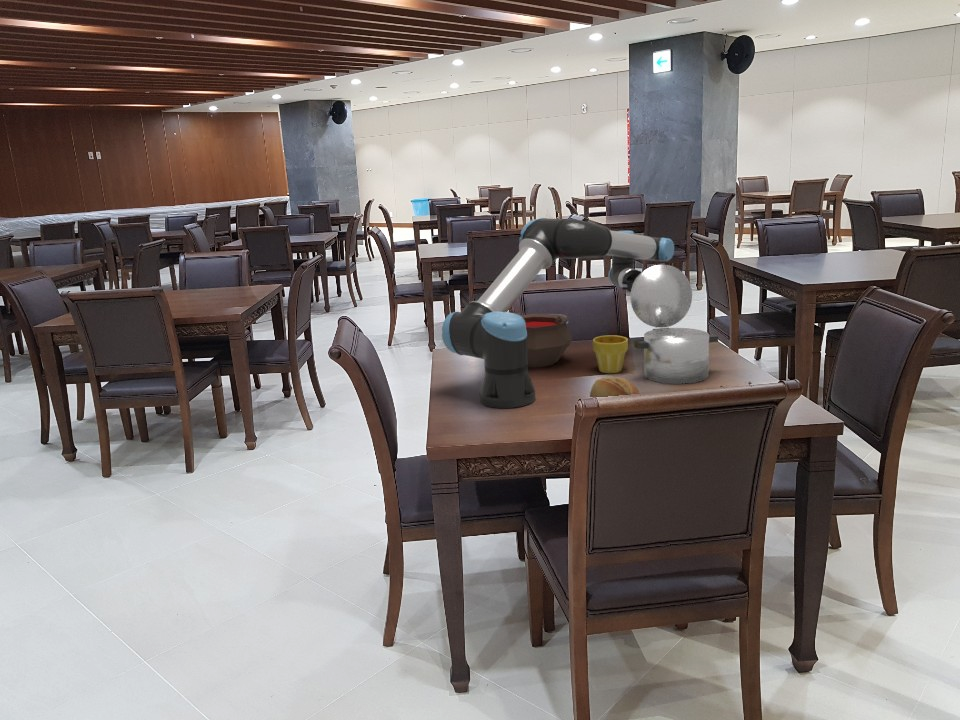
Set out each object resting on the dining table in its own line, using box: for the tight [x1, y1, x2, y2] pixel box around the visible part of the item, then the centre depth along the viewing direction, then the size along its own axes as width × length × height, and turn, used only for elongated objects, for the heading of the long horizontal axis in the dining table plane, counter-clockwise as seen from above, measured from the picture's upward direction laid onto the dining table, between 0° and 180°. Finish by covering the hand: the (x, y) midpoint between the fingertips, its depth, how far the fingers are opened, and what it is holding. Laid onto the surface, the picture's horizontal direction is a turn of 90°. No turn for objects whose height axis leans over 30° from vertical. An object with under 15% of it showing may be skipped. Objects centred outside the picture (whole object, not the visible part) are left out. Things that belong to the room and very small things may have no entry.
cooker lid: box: [630, 264, 693, 329], centre depth 218 cm, size 19×19×4 cm
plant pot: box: [592, 334, 629, 374], centre depth 219 cm, size 10×10×10 cm
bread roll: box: [589, 376, 641, 398], centre depth 186 cm, size 10×15×8 cm, turn 40°
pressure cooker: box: [633, 327, 719, 385], centre depth 211 cm, size 24×21×12 cm
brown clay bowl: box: [508, 308, 574, 368], centre depth 233 cm, size 24×24×16 cm
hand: (660, 291), depth 220 cm, fingers closed
